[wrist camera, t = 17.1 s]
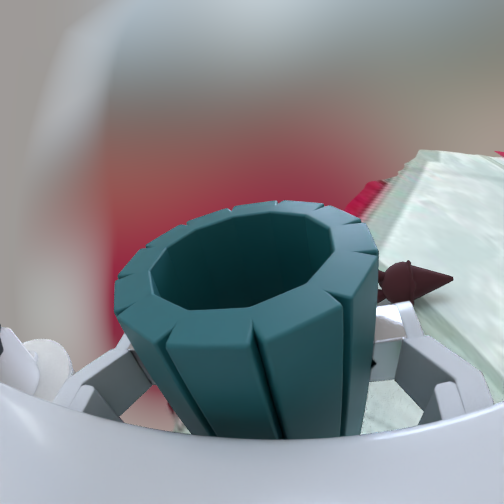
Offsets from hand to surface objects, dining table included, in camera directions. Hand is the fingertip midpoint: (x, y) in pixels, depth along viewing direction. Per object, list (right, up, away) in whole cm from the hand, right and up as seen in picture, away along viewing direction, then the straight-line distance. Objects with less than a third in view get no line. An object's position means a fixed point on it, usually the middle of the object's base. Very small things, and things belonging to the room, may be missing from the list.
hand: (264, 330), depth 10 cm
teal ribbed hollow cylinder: (+1, -5, +2) cm, 5 cm away
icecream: (+23, -5, +33) cm, 40 cm away
